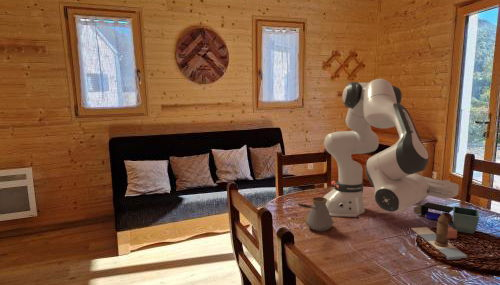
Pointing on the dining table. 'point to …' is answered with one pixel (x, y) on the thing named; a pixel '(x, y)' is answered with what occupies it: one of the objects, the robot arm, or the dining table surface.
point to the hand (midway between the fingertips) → (432, 179)
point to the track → (449, 251)
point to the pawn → (442, 232)
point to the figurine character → (424, 212)
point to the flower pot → (465, 219)
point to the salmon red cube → (452, 233)
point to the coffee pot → (318, 215)
